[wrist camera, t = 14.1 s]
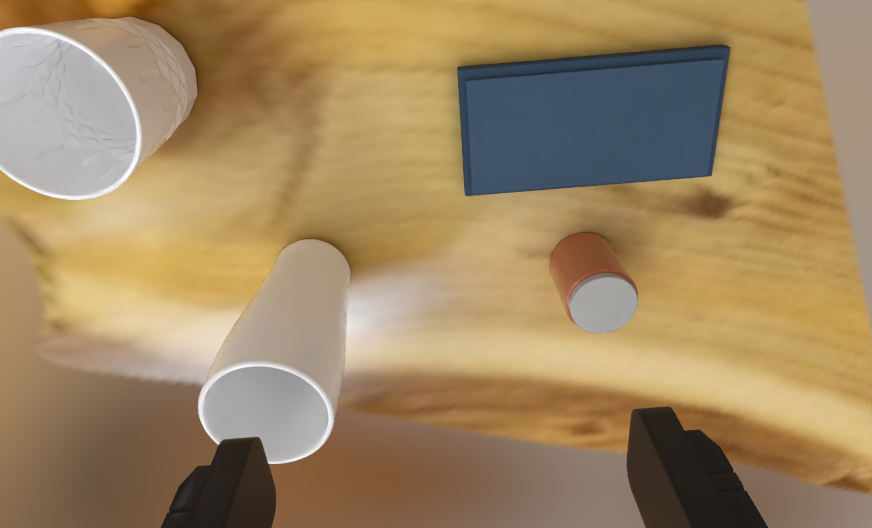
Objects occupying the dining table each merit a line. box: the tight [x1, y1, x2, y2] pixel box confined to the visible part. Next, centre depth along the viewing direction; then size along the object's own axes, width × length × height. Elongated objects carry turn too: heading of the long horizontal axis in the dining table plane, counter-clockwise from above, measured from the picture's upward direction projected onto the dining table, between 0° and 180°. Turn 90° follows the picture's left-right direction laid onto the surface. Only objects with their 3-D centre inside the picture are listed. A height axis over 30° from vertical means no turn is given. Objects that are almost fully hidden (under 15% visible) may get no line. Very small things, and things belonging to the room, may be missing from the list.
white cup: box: [0, 17, 198, 200], centre depth 32 cm, size 8×8×10 cm
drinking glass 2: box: [198, 239, 351, 464], centre depth 36 cm, size 7×7×15 cm
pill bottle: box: [549, 233, 638, 334], centre depth 40 cm, size 5×5×6 cm
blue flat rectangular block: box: [457, 45, 730, 196], centre depth 37 cm, size 8×16×1 cm, turn 94°
